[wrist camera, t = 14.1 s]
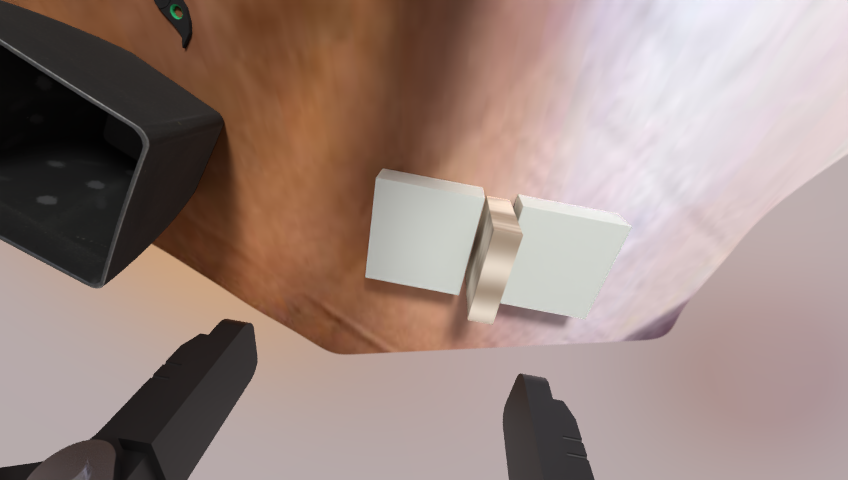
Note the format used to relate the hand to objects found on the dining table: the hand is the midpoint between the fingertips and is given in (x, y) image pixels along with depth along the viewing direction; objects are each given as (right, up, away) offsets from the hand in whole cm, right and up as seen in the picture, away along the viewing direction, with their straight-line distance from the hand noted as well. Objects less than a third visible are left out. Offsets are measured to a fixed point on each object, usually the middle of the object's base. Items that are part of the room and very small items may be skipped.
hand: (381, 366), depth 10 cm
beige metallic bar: (+10, +4, +36) cm, 38 cm away
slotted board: (+10, +4, +36) cm, 37 cm away
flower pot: (-31, +18, +33) cm, 49 cm away
